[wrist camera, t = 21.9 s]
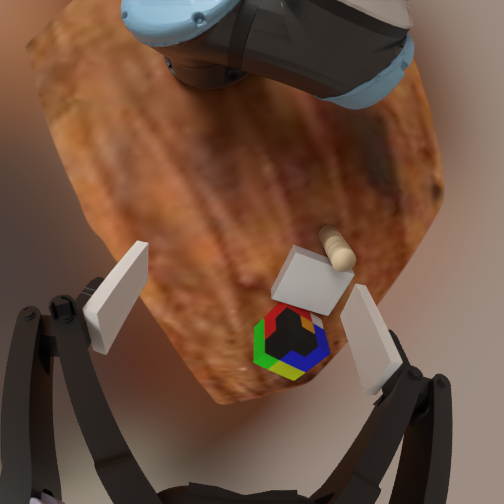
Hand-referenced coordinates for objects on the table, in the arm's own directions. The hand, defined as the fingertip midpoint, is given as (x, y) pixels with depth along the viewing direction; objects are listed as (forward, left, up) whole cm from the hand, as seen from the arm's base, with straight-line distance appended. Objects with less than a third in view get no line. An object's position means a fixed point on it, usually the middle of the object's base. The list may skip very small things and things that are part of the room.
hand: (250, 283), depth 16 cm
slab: (+14, +15, -30) cm, 36 cm away
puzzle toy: (+26, +15, -30) cm, 42 cm away
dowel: (+5, +15, -29) cm, 33 cm away
